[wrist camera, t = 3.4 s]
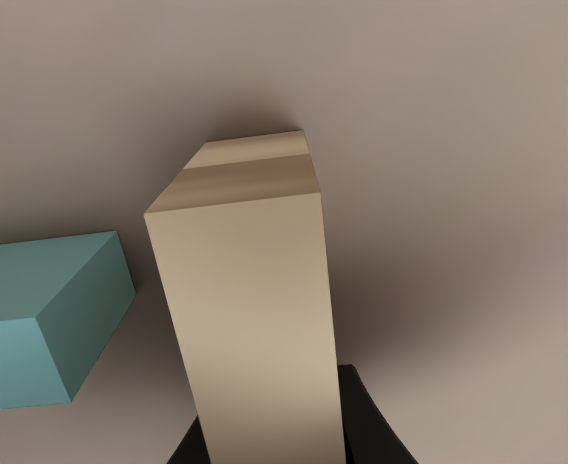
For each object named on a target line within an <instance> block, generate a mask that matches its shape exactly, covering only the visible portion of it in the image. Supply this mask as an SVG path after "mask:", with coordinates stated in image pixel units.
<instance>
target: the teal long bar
mask: <svg viewBox="0 0 568 464" xmlns="http://www.w3.org/2000/svg"><path fill="white" fill-rule="evenodd" d="M135 296H136V293H135V289H134V286H133V283H132V279H131V276H130V273H129V269H128V266H127V263H126V260H125V256H124V253H123V250H122V246H121V243H120V240H119V237H118V233H117V231H109V232H101V233H93V234H84V235H76V236H67V237H59V238H50V239H42V240H33V241H25V242H16V243H8V244H0V409H10V408H20V407H30V406H40V405H49V404H59V403H69V402H71V401H72V400H73V398H74V397H75V395H76V393H77V392H78V390H79V388H80V387H81V385H82V383H83V382H84V380H85V378H86V377H87V375H88V374H89V372H90V370H91V369H92V367H93V365H94V364H95V362H96V360H97V359H98V357H99V355H100V354H101V352H102V350H103V349H104V347H105V346H106V344H107V342H108V341H109V339H110V337H111V336H112V334H113V332H114V331H115V329H116V327H117V326H118V324H119V322H120V321H121V319H122V318H123V316H124V314H125V313H126V311H127V309H128V308H129V306H130V304H131V303H132V301H133V299H134V298H135Z"/></svg>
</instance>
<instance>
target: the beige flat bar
mask: <svg viewBox="0 0 568 464" xmlns="http://www.w3.org/2000/svg"><path fill="white" fill-rule="evenodd" d="M144 218H145V222H146V225H147V229H148V233H149V236H150V240H151V244H152V247H153V251H154V255H155V258H156V262H157V266H158V269H159V273H160V277H161V281H162V284H163V288H164V292H165V295H166V299H167V303H168V306H169V310H170V314H171V317H172V321H173V325H174V328H175V332H176V336H177V339H178V343H179V347H180V350H181V354H182V358H183V361H184V365H185V369H186V372H187V376H188V380H189V383H190V387H191V391H192V394H193V398H194V402H195V405H196V409H197V413H198V417H199V420H200V424H201V428H202V431H203V435H204V439H205V442H206V446H207V450H208V453H209V457H210V461H211V464H346V457H345V447H344V436H343V426H342V415H341V404H340V394H339V383H338V373H337V362H336V352H335V341H334V330H333V320H332V309H331V299H330V288H329V277H328V267H327V256H326V246H325V235H324V224H323V214H322V203H321V193H320V189H319V185H318V182H317V178H316V175H315V171H314V167H313V164H312V160H311V157H310V153H309V150H308V146H307V142H306V139H305V135H304V132H303V130H300V131H293V132H285V133H277V134H269V135H261V136H253V137H245V138H237V139H229V140H221V141H214V142H206V143H205V144H204V145H203V146H202V147H201V148H200V150H199V151H198V152H197V153H196V154H195V155H194V156H193V158H192V159H191V160H190V161H189V162H188V163H187V164H186V166H185V167H184V168H183V169H182V170H181V171H180V172H179V174H178V175H177V176H176V177H175V178H174V179H173V180H172V182H171V183H170V184H169V185H168V186H167V187H166V188H165V190H164V191H163V192H162V193H161V194H160V195H159V196H158V198H157V199H156V200H155V201H154V202H153V203H152V204H151V206H150V207H149V208H148V209H147V210H146V211H145V212H144Z"/></svg>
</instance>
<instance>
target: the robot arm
mask: <svg viewBox="0 0 568 464" xmlns="http://www.w3.org/2000/svg"><path fill="white" fill-rule="evenodd" d="M337 373H338V383H339V394H340V404H341V415H342V426H343V436H344V447H345V457H346V464H418V462H417V461H416V460H415V459H414V457H413V456H412V455H411V454H410V452H409V451H408V450H407V449H406V447H405V446H404V445H403V443H402V442H401V441H400V440H399V438H398V437H397V435H396V434H395V433H394V431H393V430H392V429H391V427H390V426H389V424H388V423H387V421H386V420H385V418H384V417H383V415H382V414H381V413H380V411H379V410H378V408H377V406H376V405H375V403H374V402H373V400H372V398H371V397H370V395H369V393H368V392H367V390H366V388H365V386H364V385H363V383H362V381H361V379H360V377H359V375H358V373H357V370H356V368H355V367H354V366H353V365H352V364H348V365H338V366H337ZM167 464H211V461H210V457H209V453H208V450H207V446H206V442H205V439H204V435H203V431H202V428H201V424H200V420H199V417H198V415H197V417H196V419H195V420H194V422H193V423H192V425H191V427H190V428H189V430H188V432H187V433H186V435H185V436H184V438H183V440H182V441H181V443H180V444H179V446H178V448H177V449H176V451H175V452H174V453H173V455H172V456H171V458H170V459H169V461H168V462H167Z"/></svg>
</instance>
